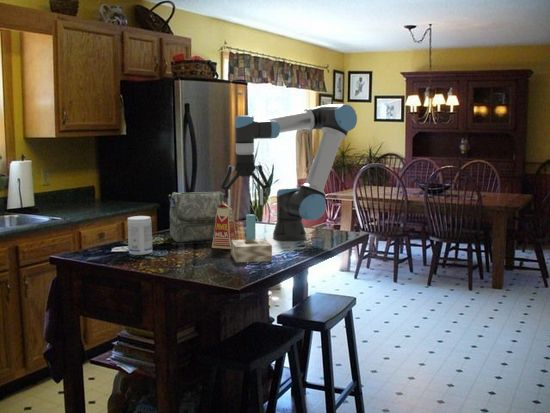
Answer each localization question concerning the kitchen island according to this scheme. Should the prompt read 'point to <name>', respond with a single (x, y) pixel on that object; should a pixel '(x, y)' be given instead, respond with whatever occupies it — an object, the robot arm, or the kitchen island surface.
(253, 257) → the bore block
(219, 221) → the milk carton
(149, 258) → the kitchen island surface
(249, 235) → the dowel
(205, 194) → the lunch bag
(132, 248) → the supplement tub
